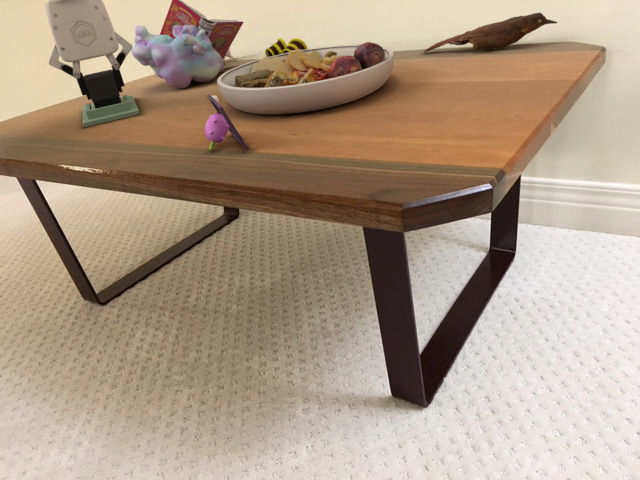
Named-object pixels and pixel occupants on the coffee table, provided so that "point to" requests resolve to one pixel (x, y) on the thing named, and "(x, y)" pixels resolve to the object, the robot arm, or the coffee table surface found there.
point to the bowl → (307, 79)
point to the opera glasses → (285, 47)
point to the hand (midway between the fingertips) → (105, 93)
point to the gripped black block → (101, 85)
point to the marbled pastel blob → (185, 46)
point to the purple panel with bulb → (220, 125)
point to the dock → (109, 110)
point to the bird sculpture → (498, 33)
